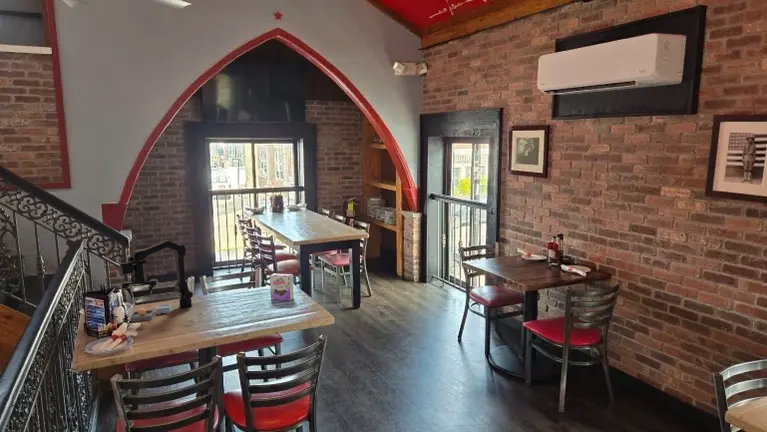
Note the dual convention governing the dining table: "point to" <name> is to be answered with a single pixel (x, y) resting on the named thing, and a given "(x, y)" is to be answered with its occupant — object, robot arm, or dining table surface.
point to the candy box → (281, 287)
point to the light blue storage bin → (163, 309)
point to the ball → (142, 311)
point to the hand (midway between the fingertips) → (141, 297)
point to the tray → (147, 316)
